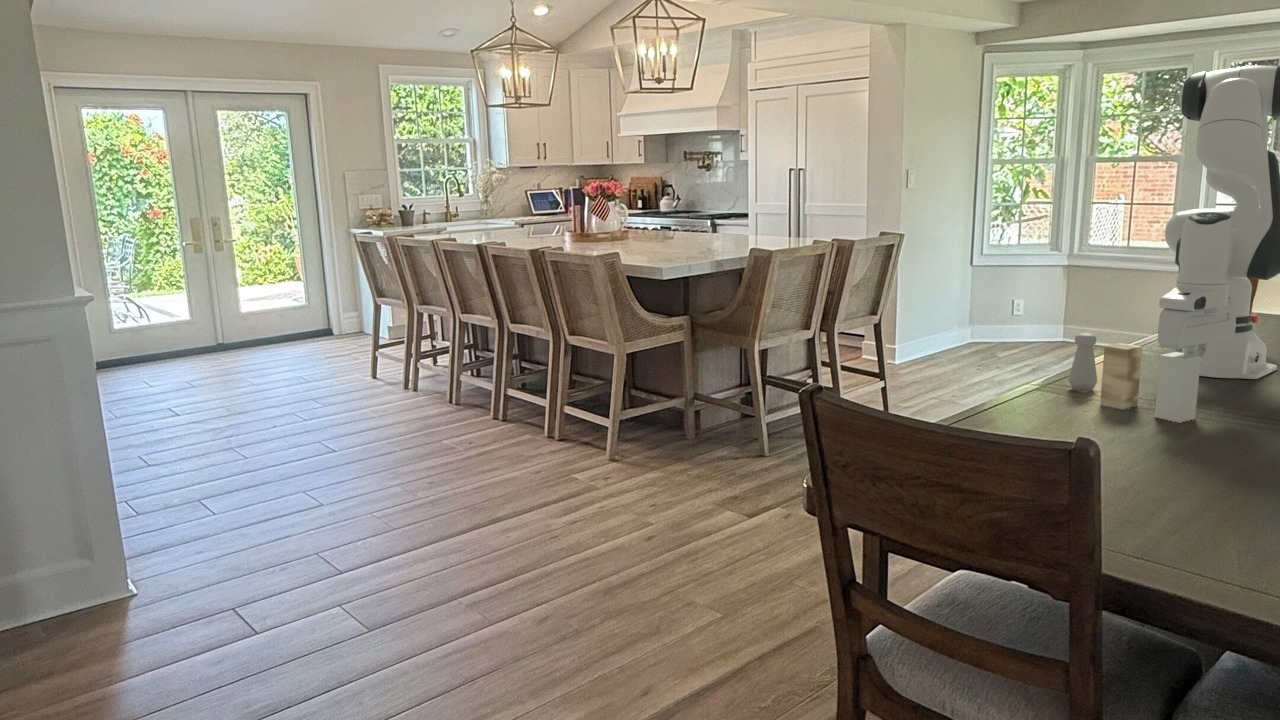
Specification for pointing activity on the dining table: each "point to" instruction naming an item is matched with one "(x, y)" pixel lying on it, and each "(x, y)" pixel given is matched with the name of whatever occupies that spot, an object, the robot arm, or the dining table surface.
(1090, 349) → the salt shaker
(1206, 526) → the dining table surface
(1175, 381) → the white block
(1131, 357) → the maple block
